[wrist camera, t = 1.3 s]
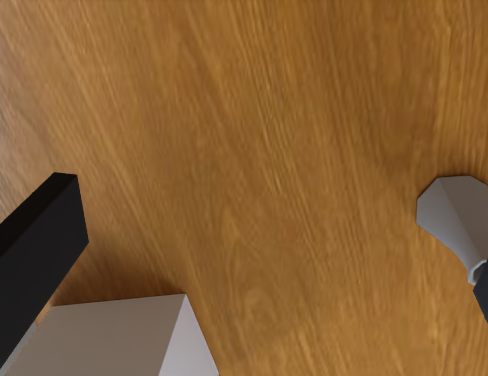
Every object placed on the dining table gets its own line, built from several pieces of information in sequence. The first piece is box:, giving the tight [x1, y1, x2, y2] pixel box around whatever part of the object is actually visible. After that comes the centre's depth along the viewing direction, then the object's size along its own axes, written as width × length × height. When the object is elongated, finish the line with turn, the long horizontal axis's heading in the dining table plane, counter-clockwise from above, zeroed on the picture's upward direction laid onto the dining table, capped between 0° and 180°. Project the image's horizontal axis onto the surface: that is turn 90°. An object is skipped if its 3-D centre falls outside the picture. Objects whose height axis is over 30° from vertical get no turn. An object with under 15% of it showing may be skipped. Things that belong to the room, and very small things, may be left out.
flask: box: [416, 176, 488, 286], centre depth 38 cm, size 7×7×10 cm
